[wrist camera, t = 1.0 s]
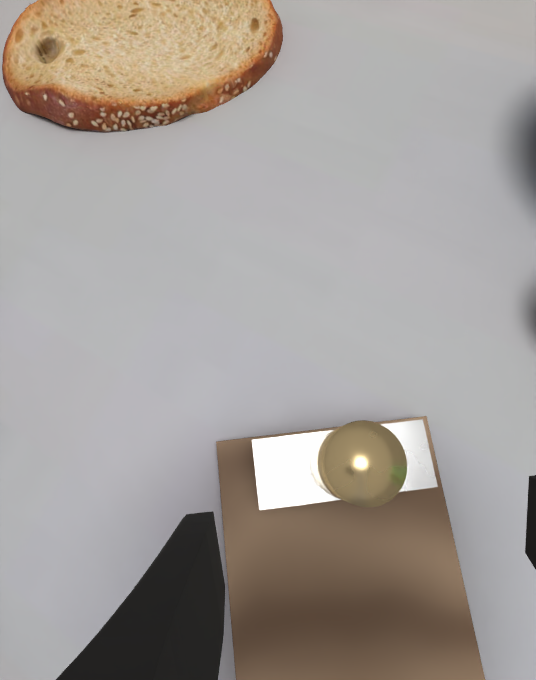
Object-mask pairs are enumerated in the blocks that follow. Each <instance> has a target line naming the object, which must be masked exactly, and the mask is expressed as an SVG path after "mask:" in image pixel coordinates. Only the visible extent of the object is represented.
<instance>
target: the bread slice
mask: <svg viewBox="0 0 536 680" xmlns="http://www.w3.org/2000/svg"><path fill="white" fill-rule="evenodd" d="M25 9H26V10H25V11H24V12H23V13H21V15H20V16H19V18H18V19H17V20H16V22H15V23H14V25H13V27H12V29H11V32H10V34H9V36H8V38H7V40H6V44H5V47H4V51H3V65H2V71H3V79H4V83H5V86H6V88H7V90H8V92H9V94H10V96H11V98H12V100H13V101H14V103H15V104H16V106H17V107H18V108H19V109H20V110H21V111H23V112H25V113H32V114H36V115H39V116H42V117H45V118H48V119H50V120H52V121H54V122H56V123H58V124H61V125H64V126H67V127H71V128H76V129H81V130H86V131H95V132H110V131H129V130H135V129H143V128H151V127H155V126H165V125H168V124H171V123H173V122H176V121H178V120H180V119H182V118H184V117H186V116H188V115H191V114H196V113H203V112H207V111H209V110H211V109H213V108H215V107H217V106H219V105H222V104H224V103H226V102H228V101H230V100H231V99H233V98H235V97H236V96H238V95H239V94H241V93H243V92H245V91H246V90H248V89H249V88H251V87H252V86H253V85H254V84H255V83H257V82H258V81H259V80H260V78H261V77H262V76H263V75H264V74H265V73H266V72H267V71H268V70H269V69H270V68H271V66H272V65H273V64H274V62H275V61H276V59H277V56H278V54H279V52H280V49H281V45H282V41H283V34H282V24H281V21H280V18H279V16H278V14H277V12H276V11H275V9H274V7H273V5H272V2H271V1H270V0H38V1H37V2H35V3H33V4H31V5H29V6H28V7H27V8H25Z"/></svg>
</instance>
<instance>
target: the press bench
mask: <svg viewBox="0 0 536 680" xmlns="http://www.w3.org/2000/svg"><path fill="white" fill-rule="evenodd" d="M422 419H423V422H424V427H425V431H426V436H427V440H428V445H429V450H430V454H431V459H432V463H433V468H434V472H435V477H436V481H437V486H438V487H434V488H426V489H418V490H411V491H403V492H399V493H398V494H397V495H396V496H395V497H394V498H393V499H392V500H390V501H389V502H387V503H385V504H383V505H380V506H376V507H360V506H356V505H354V504H351V503H349V502H346V501H344V500H334V501H327V502H319V503H311V504H304V505H296V506H288V507H281V508H273V509H266V510H259V501H258V492H257V482H256V473H255V463H254V454H253V445H252V440H257V439H265V438H273V437H282V436H290V435H298V434H306V433H314V432H323V431H331V430H335V429H337V428H340V427H333V428H325V429H317V430H308V431H300V432H292V433H283V434H275V435H267V436H259V437H250V438H242V439H234V440H226V441H217V442H216V444H217V456H218V468H219V480H220V492H221V504H222V516H223V528H224V540H225V552H226V564H227V576H228V588H229V600H230V612H231V624H232V636H233V648H234V660H235V672H236V680H485V677H484V672H483V668H482V663H481V659H480V654H479V650H478V645H477V641H476V637H475V632H474V628H473V623H472V619H471V614H470V610H469V605H468V601H467V596H466V592H465V587H464V583H463V578H462V574H461V569H460V565H459V560H458V556H457V551H456V547H455V542H454V538H453V533H452V529H451V524H450V520H449V515H448V511H447V506H446V502H445V497H444V493H443V488H442V484H441V479H440V475H439V470H438V466H437V461H436V457H435V452H434V448H433V443H432V439H431V434H430V430H429V426H428V421H427V417H426V416H424V417H416V418H408V419H399V420H391V421H383V422H375V423H378V424H389V423H397V422H405V421H413V420H422ZM341 427H342V426H341Z"/></svg>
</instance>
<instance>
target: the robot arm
mask: <svg viewBox="0 0 536 680" xmlns="http://www.w3.org/2000/svg"><path fill="white" fill-rule="evenodd" d="M525 553H526V555H527V556H528V558H529V559H530V561H531V563H532V564H533V566H534V568H535V569H536V475H535V476H529V489H528V509H527V529H526V548H525ZM224 606H225V583H224V577H223V570H222V564H221V558H220V551H219V545H218V539H217V533H216V526H215V520H214V514H213V512H204V513H195V514H186V516H185V517H184V518H183V519H182V521H181V522H180V524H179V525H178V526H177V528H176V529H175V531H174V532H173V534H172V535H171V537H170V538H169V540H168V541H167V543H166V544H165V546H164V547H163V549H162V550H161V552H160V553H159V554H158V556H157V557H156V559H155V560H154V562H153V563H152V564H151V566H150V567H149V568H148V570H147V571H146V573H145V574H144V575H143V577H142V578H141V579H140V581H139V582H138V584H137V585H136V586H135V588H134V589H133V590H132V592H131V593H130V594H129V595H128V597H127V598H126V599H125V600H124V602H123V603H122V604H121V605H120V607H119V608H118V609H117V610H116V612H115V613H114V614H113V615H112V617H111V618H110V619H109V620H108V622H107V623H106V624H105V625H104V626H103V628H102V629H101V630H100V631H99V632H98V634H97V635H96V636H95V637H94V638H93V639H92V641H91V642H90V643H89V644H88V645H87V646H86V647H85V649H84V650H83V651H82V652H81V653H80V654H79V655H78V656H77V658H76V659H75V660H74V661H73V662H72V663H71V664H70V665H69V666H68V667H67V668H66V669H65V670H64V672H63V673H62V674H61V675H60V676H59V677H58V678H57V679H56V680H218V673H219V666H220V658H221V651H222V643H223V634H224Z"/></svg>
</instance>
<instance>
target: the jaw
mask: <svg viewBox="0 0 536 680" xmlns="http://www.w3.org/2000/svg"><path fill="white" fill-rule="evenodd" d="M252 445H253V454H254V463H255V473H256V482H257V492H258V501H259V510H266V509H273V508H281V507H288V506H296V505H304V504H311V503H319V502H327V501H334V500H344V501H346V502H349V503H351V504H354V505H356V506H360V507H376V506H380V505H383V504H385V503H387V502H389V501H390V500H392V499H393V498H394V497H395V496H396V495H397V494H398V493H399V492H403V491H411V490H418V489H426V488H434V487H438V486H437V481H436V477H435V472H434V468H433V463H432V459H431V454H430V450H429V445H428V440H427V436H426V431H425V427H424V422H423V419H422V420H413V421H405V422H397V423H389V424H378V423H375V422H371V421H355V422H351V423H348V424H346V425H344V426H342V427H340V428H337V429H335V430H331V431H323V432H314V433H306V434H298V435H290V436H282V437H273V438H265V439H257V440H252Z"/></svg>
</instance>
